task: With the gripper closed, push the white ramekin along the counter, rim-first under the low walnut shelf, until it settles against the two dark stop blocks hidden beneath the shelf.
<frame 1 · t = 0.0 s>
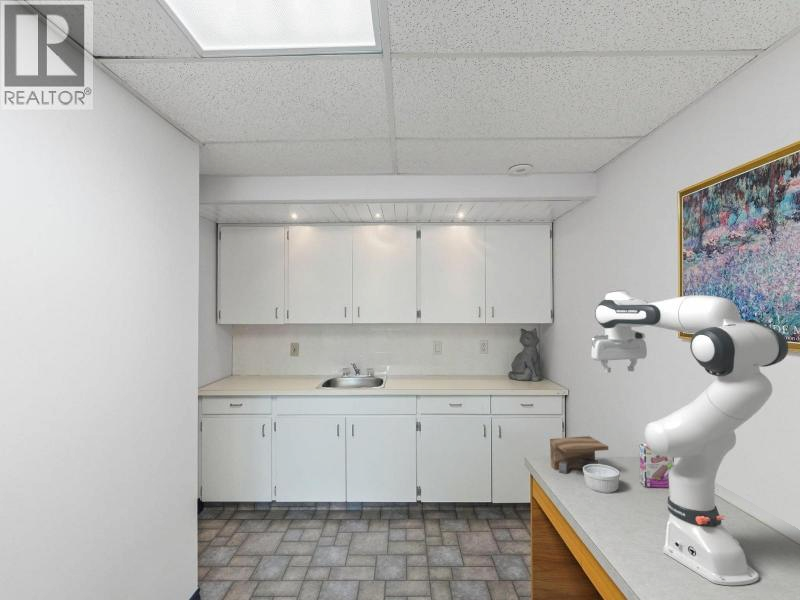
hand: (619, 371, 152), 48 cm above the counter, tool pointing down, fingers open, 8 cm apart
candy bar box: (657, 486, 163), on the counter
walnut shelf: (581, 472, 177), on the counter
ramekin: (601, 487, 163), on the counter
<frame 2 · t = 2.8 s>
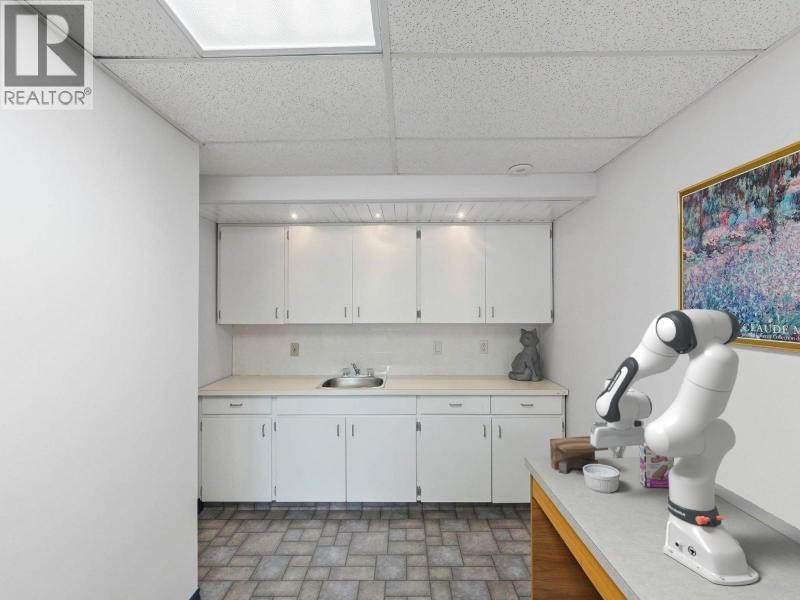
hand: (617, 457, 152), 16 cm above the counter, tool pointing down, fingers closed
nothing on the counter moved.
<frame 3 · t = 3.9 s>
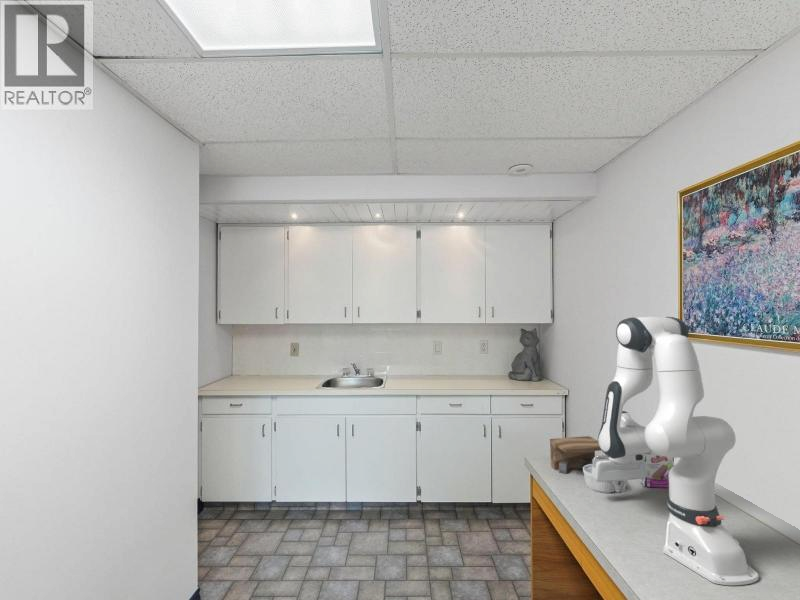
hand: (619, 491, 152), 3 cm above the counter, tool pointing down, fingers closed
nothing on the counter moved.
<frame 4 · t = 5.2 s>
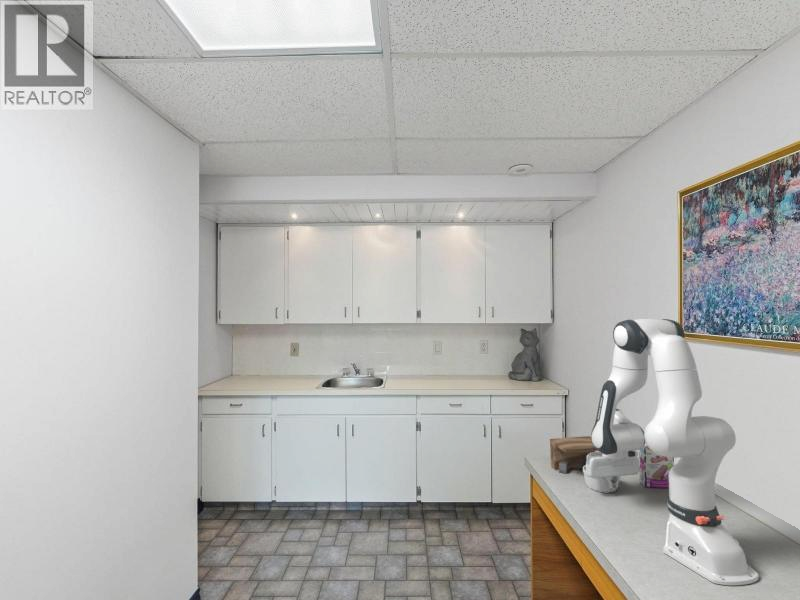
hand: (612, 487, 156), 3 cm above the counter, tool pointing down, fingers closed
ramekin: (601, 487, 163), on the counter, touching gripper
everything else where it was.
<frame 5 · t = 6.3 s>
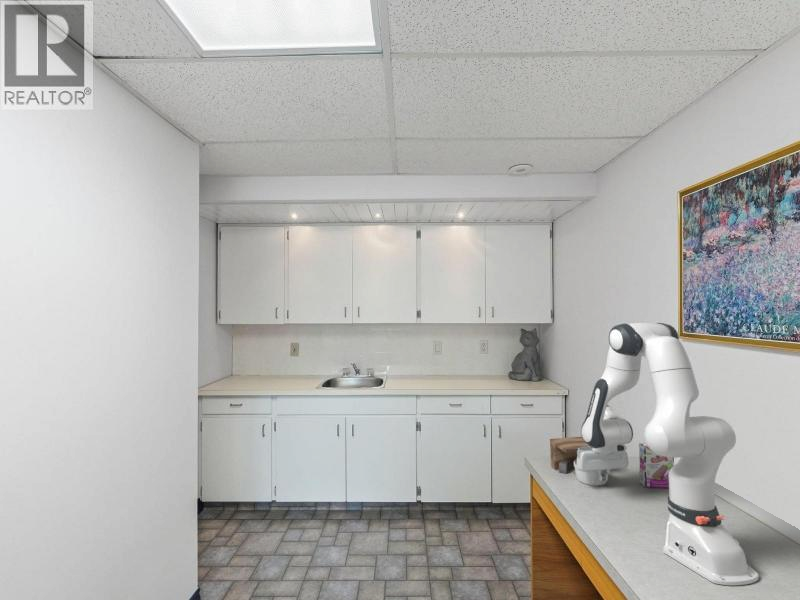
hand: (602, 480, 162), 3 cm above the counter, tool pointing down, fingers closed, pressing on ramekin
ramekin: (591, 480, 169), on the counter, touching gripper
everything else where it was.
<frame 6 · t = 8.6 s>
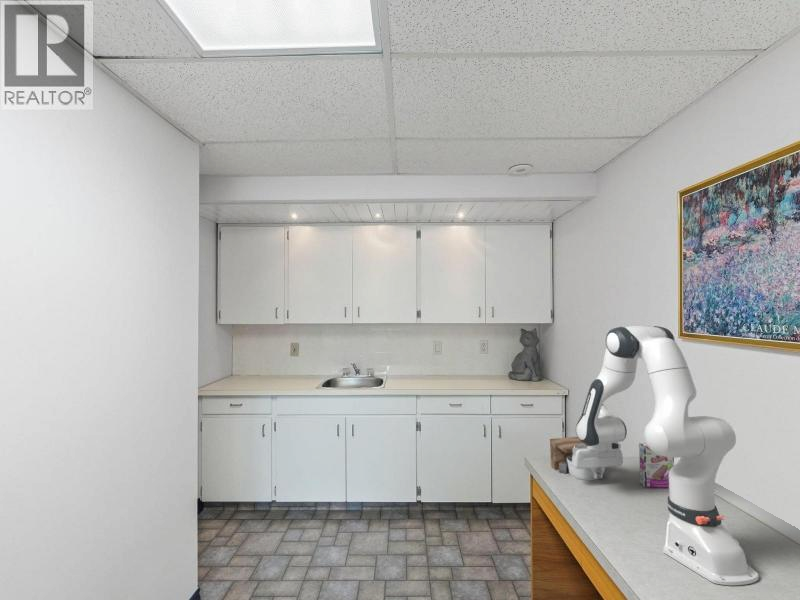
hand: (597, 477, 165), 3 cm above the counter, tool pointing down, fingers closed
ramekin: (583, 475, 175), on the counter
everything else where it was.
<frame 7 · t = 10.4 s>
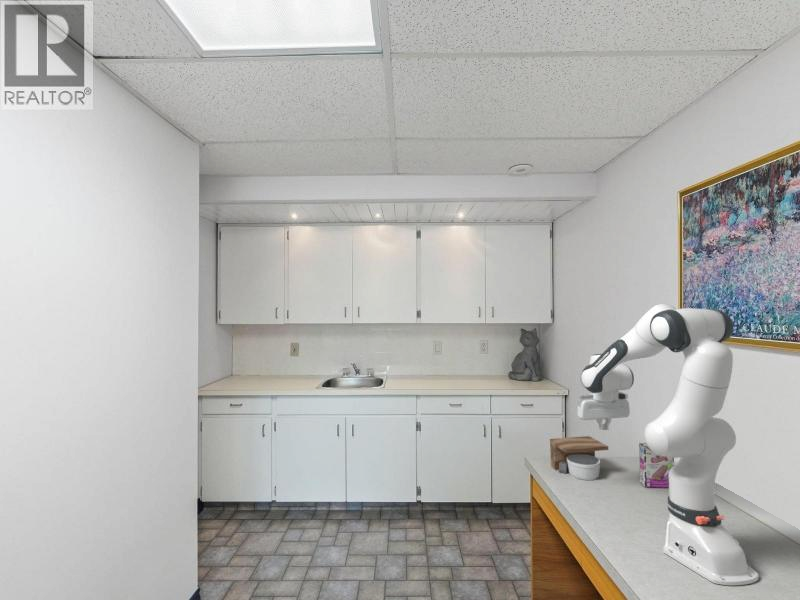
hand: (604, 429, 160), 24 cm above the counter, tool pointing down, fingers closed
nothing on the counter moved.
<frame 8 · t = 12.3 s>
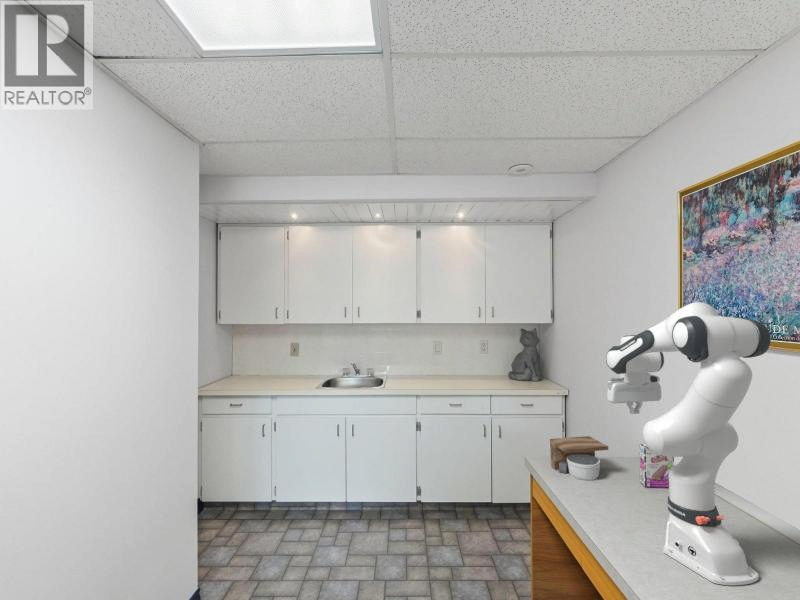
hand: (634, 413, 156), 31 cm above the counter, tool pointing down, fingers closed
nothing on the counter moved.
at the end: ramekin 0.4 cm from the target spot on the walnut shelf, point 0.0 cm above the walnut shelf's base; ramekin tilted 0° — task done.
